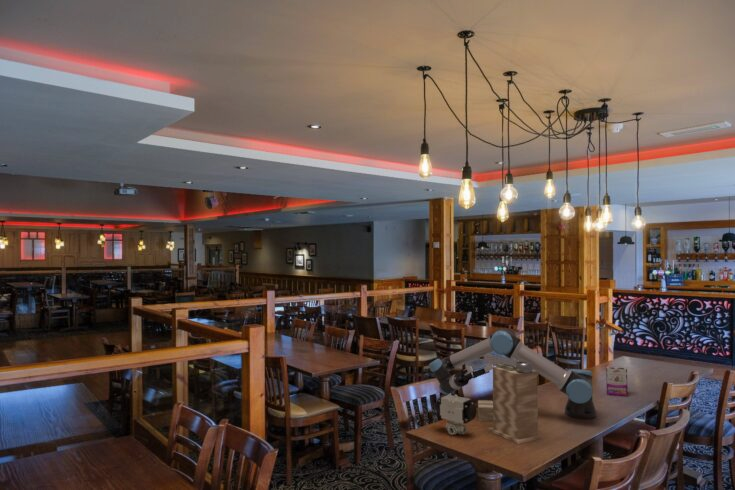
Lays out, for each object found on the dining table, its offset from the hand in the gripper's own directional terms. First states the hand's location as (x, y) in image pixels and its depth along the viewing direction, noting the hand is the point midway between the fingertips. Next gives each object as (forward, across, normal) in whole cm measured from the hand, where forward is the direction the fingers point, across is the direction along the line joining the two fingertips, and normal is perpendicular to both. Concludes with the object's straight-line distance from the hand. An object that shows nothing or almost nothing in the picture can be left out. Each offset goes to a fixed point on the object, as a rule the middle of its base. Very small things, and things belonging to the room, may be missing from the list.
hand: (482, 367), depth 253 cm
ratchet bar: (+17, 0, -6) cm, 18 cm away
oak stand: (+6, 0, -34) cm, 35 cm away
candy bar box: (-11, -100, -25) cm, 104 cm away
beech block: (-16, -6, -22) cm, 28 cm away
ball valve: (-7, +23, -27) cm, 36 cm away
